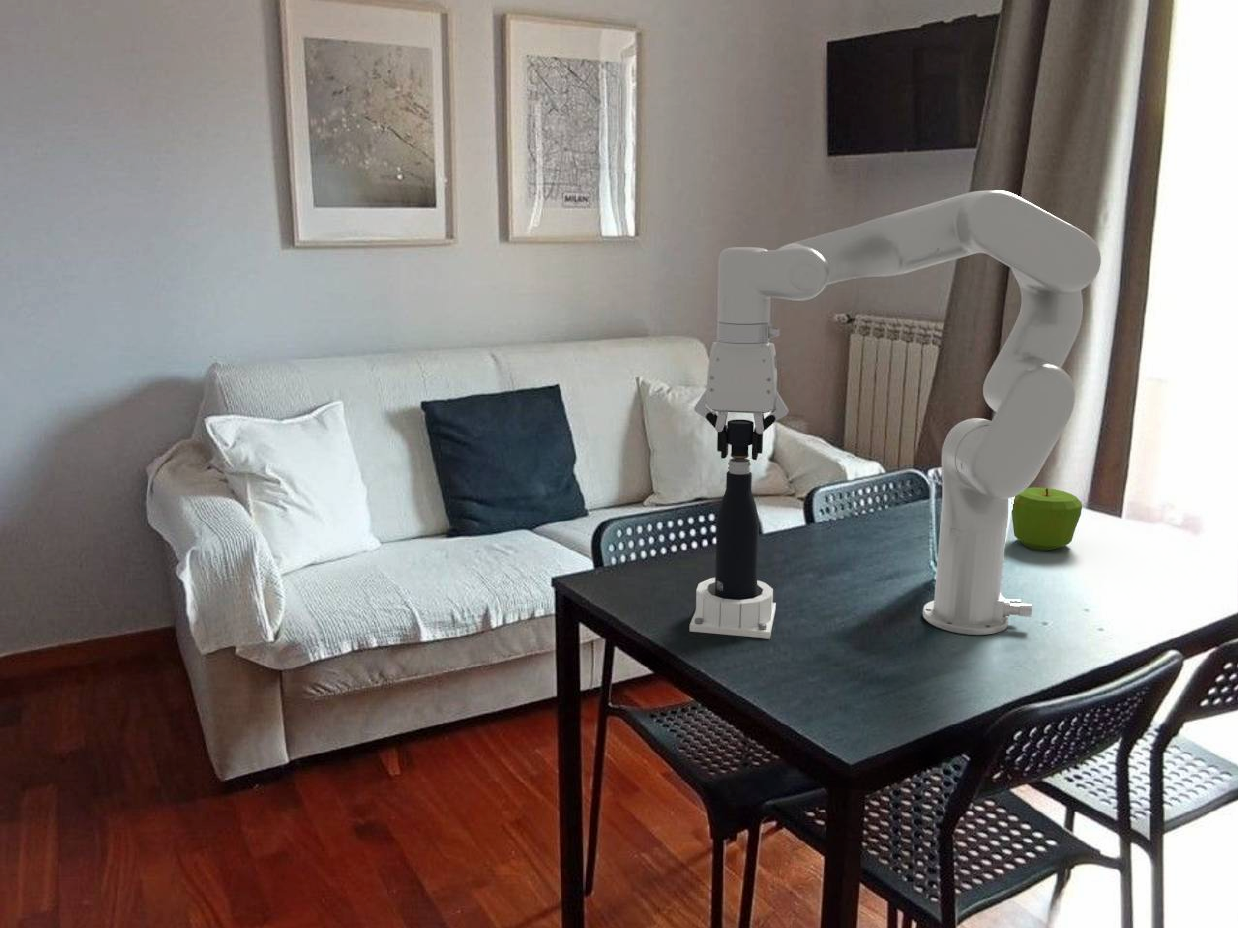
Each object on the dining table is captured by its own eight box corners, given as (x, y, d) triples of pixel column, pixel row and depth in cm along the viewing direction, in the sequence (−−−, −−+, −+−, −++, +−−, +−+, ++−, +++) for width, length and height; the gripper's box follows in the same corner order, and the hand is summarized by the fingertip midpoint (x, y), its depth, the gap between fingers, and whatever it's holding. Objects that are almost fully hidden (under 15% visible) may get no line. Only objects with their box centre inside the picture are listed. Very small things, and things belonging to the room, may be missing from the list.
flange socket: (775, 608, 164) (776, 579, 163) (769, 638, 153) (770, 607, 152) (700, 602, 167) (701, 573, 166) (689, 631, 155) (690, 600, 154)
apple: (1088, 556, 190) (1095, 497, 187) (1021, 555, 190) (1027, 496, 187) (1060, 535, 202) (1067, 479, 199) (998, 534, 202) (1003, 479, 199)
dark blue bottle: (761, 607, 161) (767, 419, 154) (748, 622, 155) (754, 427, 148) (722, 601, 164) (727, 416, 156) (708, 615, 158) (712, 424, 151)
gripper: (802, 332, 151) (797, 454, 155) (689, 330, 154) (688, 449, 159) (800, 339, 144) (794, 466, 148) (681, 336, 147) (680, 460, 152)
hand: (739, 456), depth 153 cm, fingers closed on dark blue bottle, 3 cm apart
